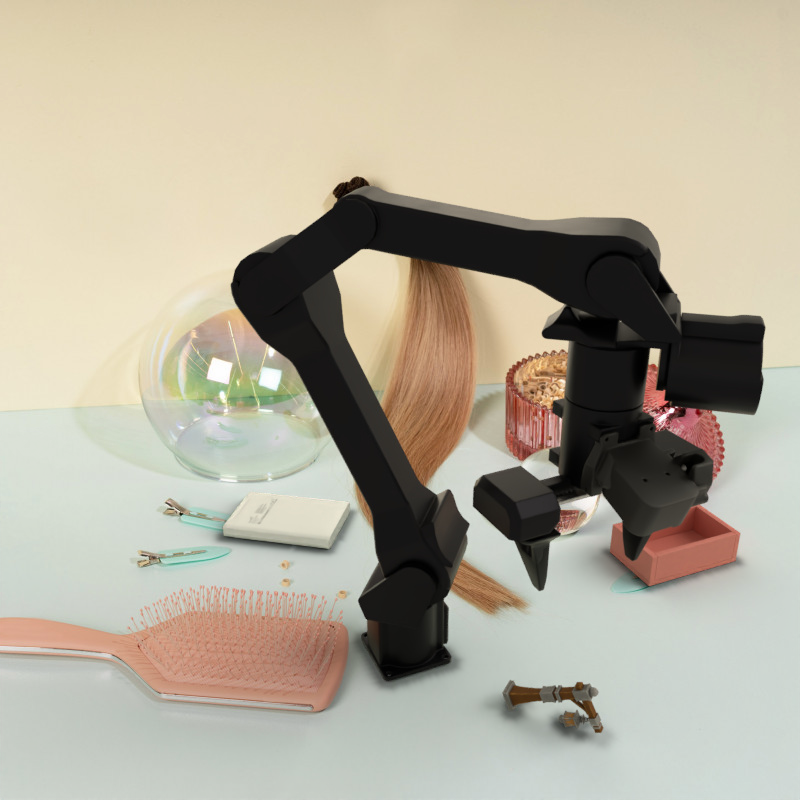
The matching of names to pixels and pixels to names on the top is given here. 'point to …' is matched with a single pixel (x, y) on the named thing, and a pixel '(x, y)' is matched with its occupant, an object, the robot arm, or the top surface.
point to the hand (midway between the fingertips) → (585, 572)
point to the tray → (681, 548)
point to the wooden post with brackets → (553, 694)
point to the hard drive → (288, 519)
